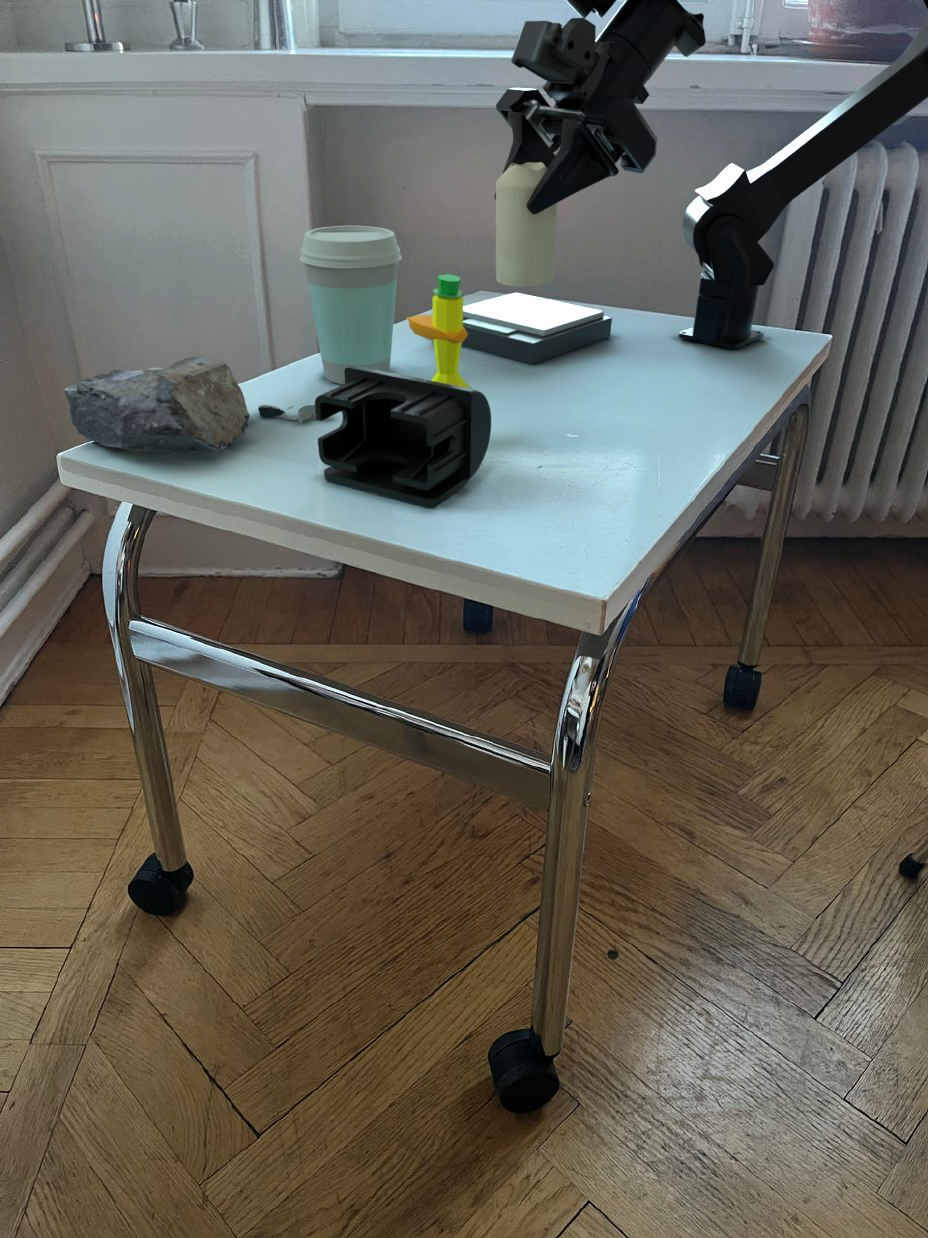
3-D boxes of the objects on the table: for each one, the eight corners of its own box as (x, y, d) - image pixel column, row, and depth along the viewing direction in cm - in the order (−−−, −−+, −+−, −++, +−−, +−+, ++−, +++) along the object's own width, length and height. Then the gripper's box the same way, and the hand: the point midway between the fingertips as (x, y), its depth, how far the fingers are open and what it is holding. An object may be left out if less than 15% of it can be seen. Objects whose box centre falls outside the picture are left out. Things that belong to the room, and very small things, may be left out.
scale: (512, 314, 101) (513, 290, 100) (610, 337, 94) (612, 311, 92) (431, 338, 93) (431, 311, 91) (532, 364, 86) (533, 336, 84)
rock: (266, 422, 73) (261, 354, 70) (216, 473, 63) (207, 396, 60) (94, 410, 74) (81, 343, 71) (18, 459, 64) (1, 383, 61)
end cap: (491, 473, 64) (494, 378, 60) (439, 511, 59) (439, 410, 55) (373, 445, 68) (369, 355, 65) (315, 479, 63) (307, 382, 59)
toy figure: (395, 431, 71) (390, 269, 64) (430, 421, 73) (428, 262, 66) (453, 457, 66) (454, 286, 60) (488, 445, 69) (493, 278, 62)
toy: (224, 429, 72) (227, 418, 73) (326, 422, 72) (327, 412, 74) (221, 414, 71) (224, 403, 73) (323, 407, 71) (325, 397, 73)
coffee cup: (420, 368, 84) (418, 229, 78) (375, 396, 78) (369, 246, 71) (340, 356, 87) (332, 221, 81) (290, 382, 80) (277, 236, 74)
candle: (530, 290, 83) (533, 168, 77) (484, 281, 86) (483, 164, 80) (565, 278, 86) (570, 161, 81) (519, 271, 89) (521, 157, 84)
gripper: (515, -17, 82) (409, 130, 84) (640, -27, 68) (510, 149, 70) (584, 81, 89) (485, 214, 91) (710, 90, 75) (590, 247, 77)
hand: (513, 205), depth 82 cm, fingers closed on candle, 5 cm apart
